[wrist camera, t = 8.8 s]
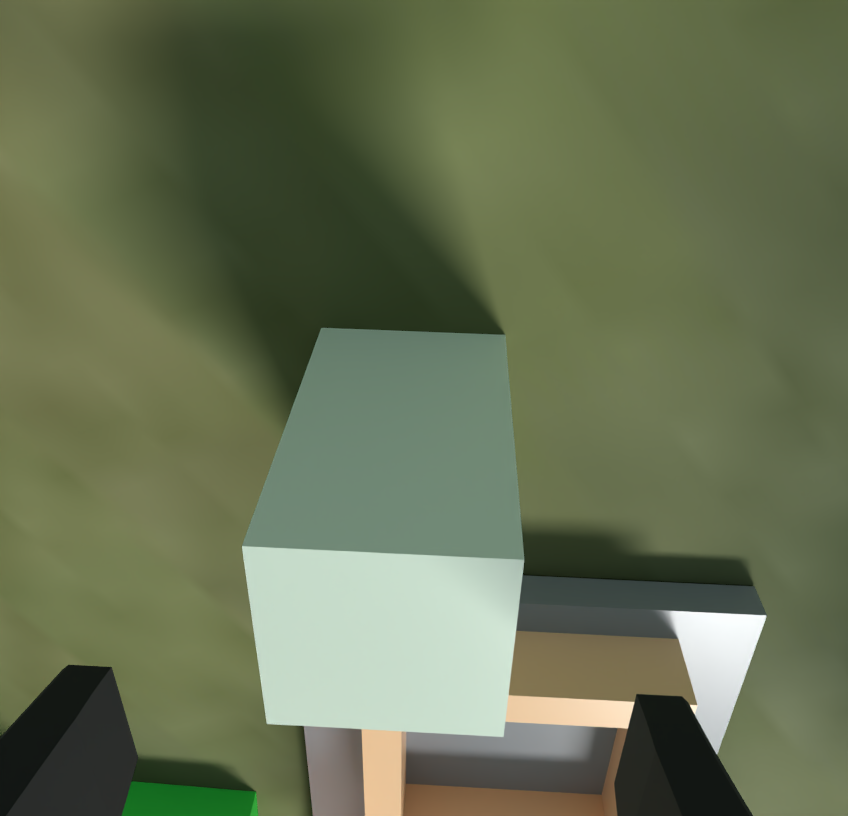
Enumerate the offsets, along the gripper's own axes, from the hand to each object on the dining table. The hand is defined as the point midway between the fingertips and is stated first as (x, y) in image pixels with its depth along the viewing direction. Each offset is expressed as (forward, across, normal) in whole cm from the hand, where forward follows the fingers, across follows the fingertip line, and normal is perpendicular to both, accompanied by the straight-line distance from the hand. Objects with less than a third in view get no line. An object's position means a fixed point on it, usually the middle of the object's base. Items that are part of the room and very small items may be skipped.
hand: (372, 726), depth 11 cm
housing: (+8, -3, +15) cm, 17 cm away
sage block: (+8, 0, 0) cm, 8 cm away
